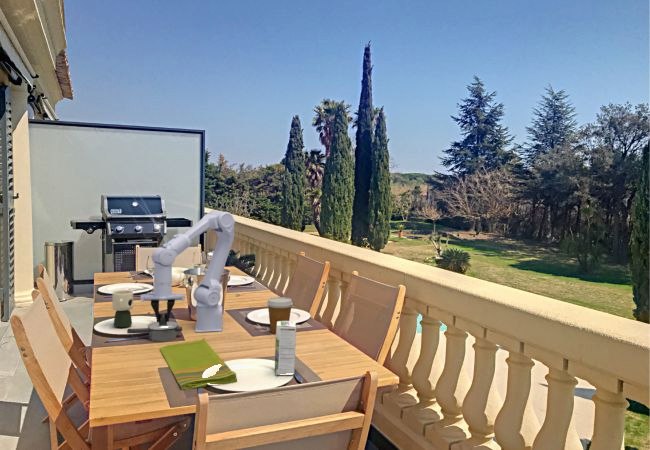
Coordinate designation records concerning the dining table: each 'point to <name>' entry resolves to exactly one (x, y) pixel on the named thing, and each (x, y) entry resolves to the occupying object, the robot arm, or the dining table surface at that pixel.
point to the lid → (162, 323)
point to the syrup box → (285, 347)
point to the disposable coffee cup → (278, 311)
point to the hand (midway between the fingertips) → (162, 321)
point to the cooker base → (157, 333)
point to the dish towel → (196, 364)
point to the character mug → (122, 307)
